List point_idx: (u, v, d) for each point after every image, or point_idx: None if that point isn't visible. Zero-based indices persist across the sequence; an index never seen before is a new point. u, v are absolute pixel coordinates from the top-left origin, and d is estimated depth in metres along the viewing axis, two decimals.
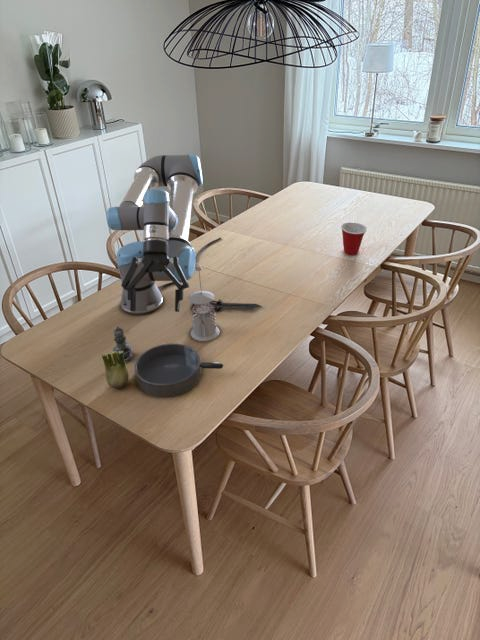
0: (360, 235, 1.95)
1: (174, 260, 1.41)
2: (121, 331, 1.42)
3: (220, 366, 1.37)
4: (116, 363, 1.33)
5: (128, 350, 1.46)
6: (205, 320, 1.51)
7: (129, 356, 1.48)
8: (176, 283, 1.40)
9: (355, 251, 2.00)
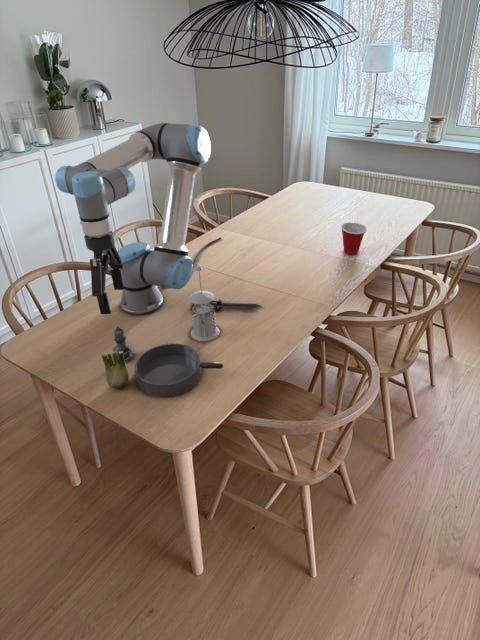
0: (360, 235, 1.95)
1: None
2: (121, 331, 1.42)
3: (220, 366, 1.37)
4: (116, 363, 1.33)
5: (128, 350, 1.46)
6: (205, 320, 1.51)
7: (129, 356, 1.48)
8: None
9: (355, 251, 2.00)
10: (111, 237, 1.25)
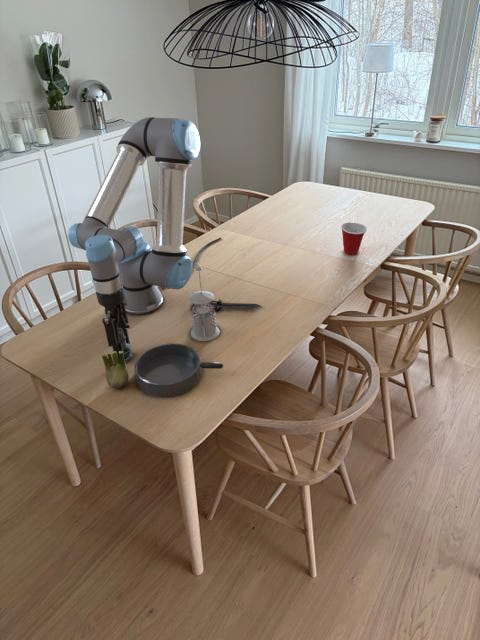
0: (360, 235, 1.95)
1: None
2: (121, 331, 1.42)
3: (220, 366, 1.37)
4: (116, 363, 1.33)
5: (128, 350, 1.46)
6: (205, 320, 1.51)
7: (129, 356, 1.48)
8: None
9: (355, 251, 2.00)
10: (121, 293, 1.35)
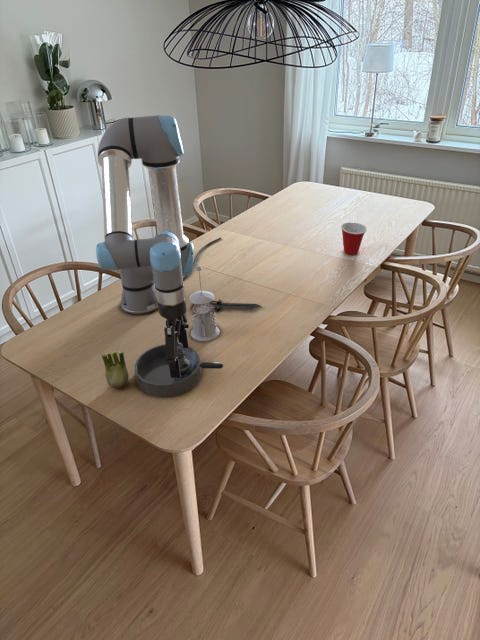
0: (360, 235, 1.95)
1: None
2: (181, 346, 1.34)
3: (220, 366, 1.37)
4: (116, 363, 1.33)
5: (187, 366, 1.37)
6: (205, 320, 1.51)
7: (187, 372, 1.40)
8: None
9: (355, 251, 2.00)
10: (184, 304, 1.26)
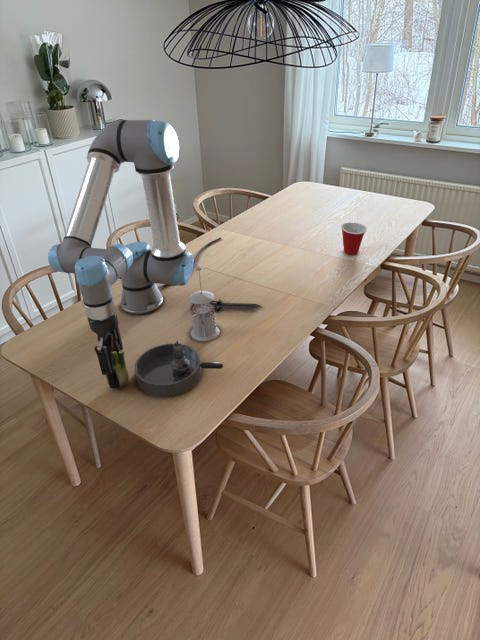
0: (360, 235, 1.95)
1: None
2: (181, 346, 1.34)
3: (220, 366, 1.37)
4: (116, 363, 1.33)
5: (187, 366, 1.37)
6: (205, 320, 1.51)
7: (187, 372, 1.40)
8: None
9: (355, 251, 2.00)
10: (115, 319, 1.24)
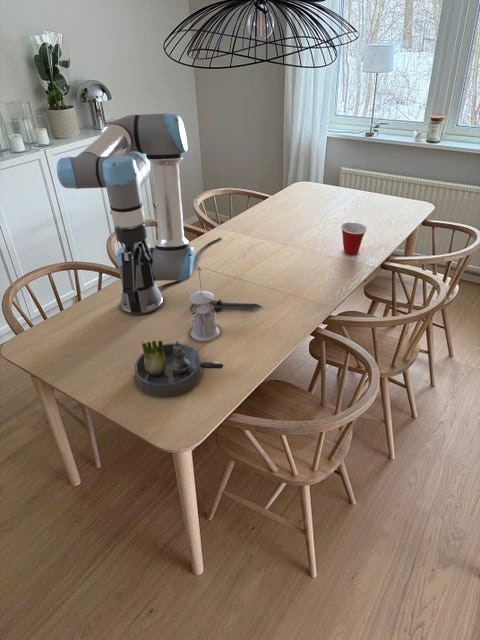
0: (360, 235, 1.95)
1: None
2: (181, 346, 1.34)
3: (220, 366, 1.37)
4: (155, 351, 1.36)
5: (187, 366, 1.37)
6: (205, 320, 1.51)
7: (187, 372, 1.40)
8: None
9: (355, 251, 2.00)
10: (144, 229, 1.14)
